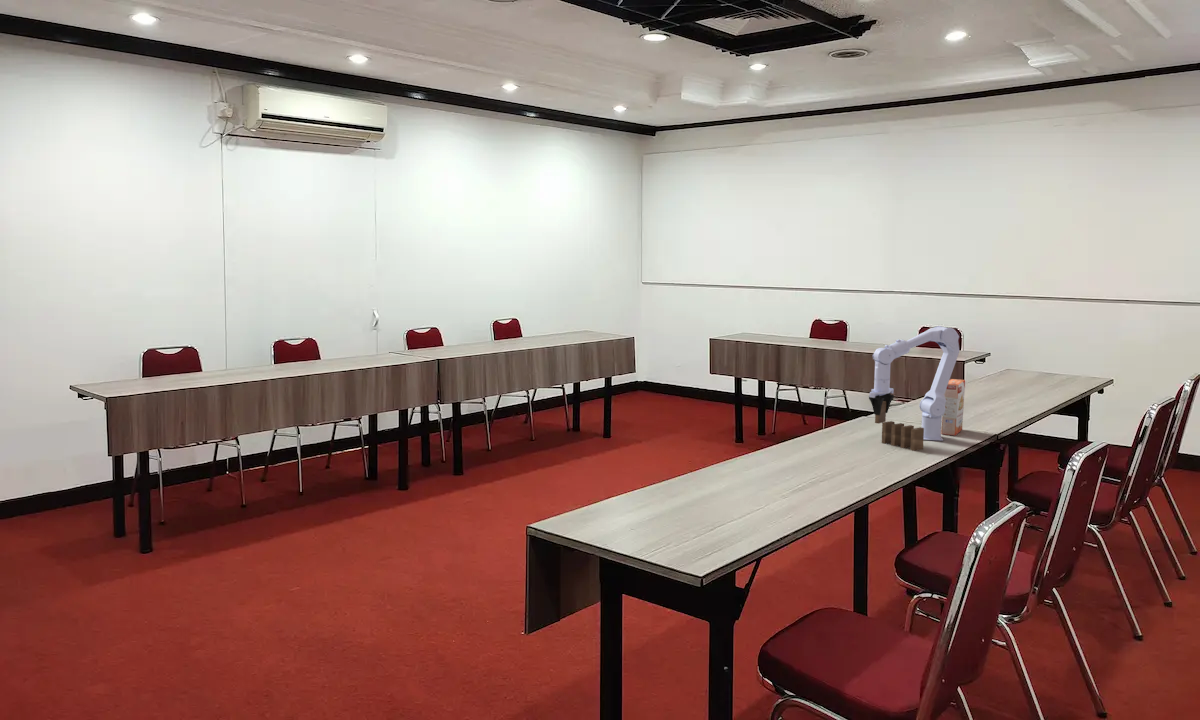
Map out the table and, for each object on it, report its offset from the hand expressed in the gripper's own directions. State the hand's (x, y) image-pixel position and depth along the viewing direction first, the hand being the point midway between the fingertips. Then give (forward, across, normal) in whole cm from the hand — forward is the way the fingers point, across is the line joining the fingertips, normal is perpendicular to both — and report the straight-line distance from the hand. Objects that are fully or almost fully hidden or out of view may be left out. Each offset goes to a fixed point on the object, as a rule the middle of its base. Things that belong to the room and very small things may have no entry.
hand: (880, 413), depth 330 cm
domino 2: (+10, +2, +4) cm, 11 cm away
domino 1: (+3, 0, 0) cm, 3 cm away
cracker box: (+11, -34, +13) cm, 37 cm away
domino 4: (+10, +3, +13) cm, 17 cm away
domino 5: (+10, +4, +18) cm, 21 cm away
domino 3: (+10, +2, +9) cm, 14 cm away
